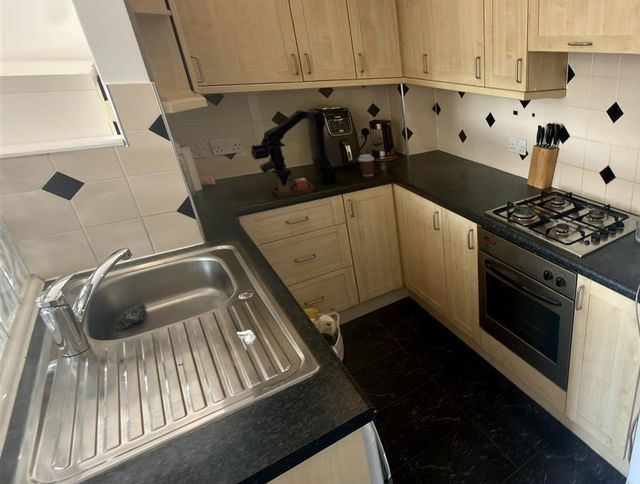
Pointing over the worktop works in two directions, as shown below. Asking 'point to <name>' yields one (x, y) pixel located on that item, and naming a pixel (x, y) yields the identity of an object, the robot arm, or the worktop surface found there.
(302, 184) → the terracotta block
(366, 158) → the coffee cup
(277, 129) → the robot arm
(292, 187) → the sorting tray
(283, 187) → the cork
